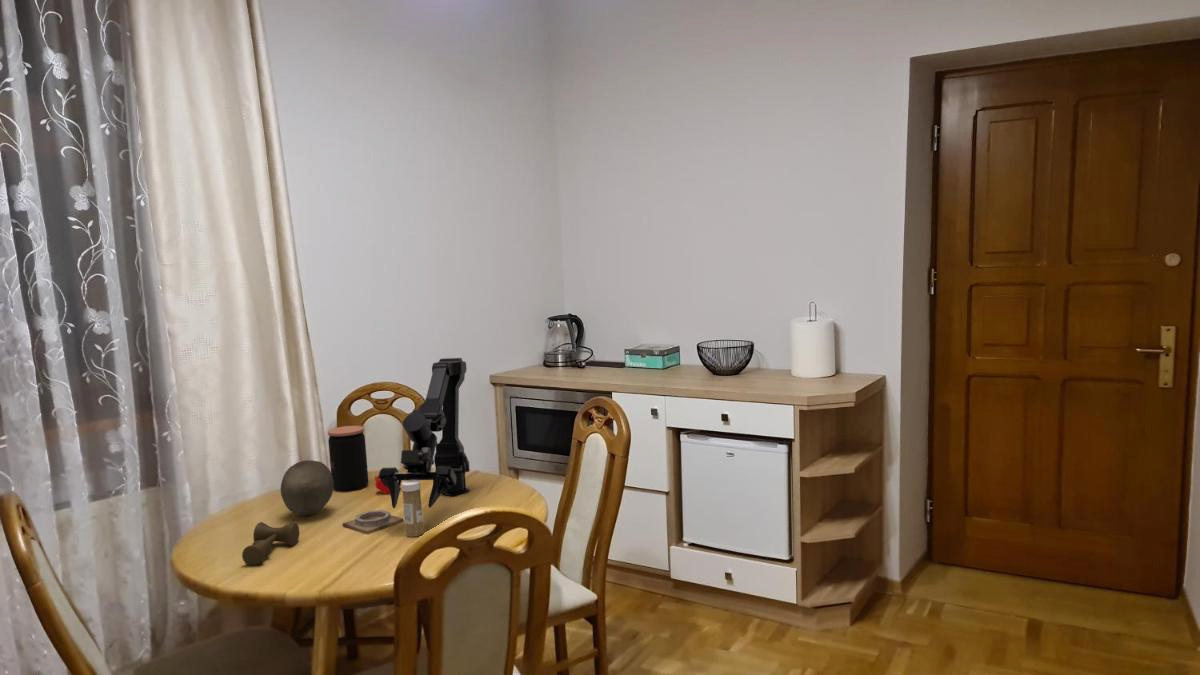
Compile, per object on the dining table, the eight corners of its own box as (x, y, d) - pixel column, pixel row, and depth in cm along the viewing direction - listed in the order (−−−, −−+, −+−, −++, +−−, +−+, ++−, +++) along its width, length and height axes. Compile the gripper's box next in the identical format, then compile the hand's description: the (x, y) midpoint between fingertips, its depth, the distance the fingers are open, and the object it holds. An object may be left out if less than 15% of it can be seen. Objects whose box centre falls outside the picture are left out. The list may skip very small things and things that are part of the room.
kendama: (232, 569, 182) (269, 536, 202) (273, 569, 182) (307, 535, 202) (229, 544, 181) (267, 513, 201) (271, 544, 181) (305, 513, 201)
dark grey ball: (270, 521, 214) (265, 466, 213) (310, 505, 227) (305, 453, 225) (309, 526, 208) (304, 470, 207) (348, 509, 221) (343, 456, 219)
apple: (403, 469, 240) (377, 464, 237) (405, 479, 234) (378, 473, 231) (395, 490, 241) (369, 484, 238) (397, 500, 235) (371, 494, 232)
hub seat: (378, 514, 215) (377, 506, 215) (403, 521, 208) (402, 513, 208) (342, 526, 207) (342, 518, 206) (367, 534, 200) (366, 525, 200)
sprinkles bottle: (426, 534, 197) (422, 481, 196) (409, 538, 195) (405, 485, 194) (420, 529, 201) (416, 477, 200) (402, 533, 199) (398, 481, 197)
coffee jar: (342, 482, 249) (337, 425, 247) (374, 481, 248) (370, 425, 246) (326, 492, 239) (320, 433, 237) (359, 492, 237) (354, 433, 235)
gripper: (378, 436, 201) (364, 492, 191) (450, 435, 199) (439, 491, 189) (392, 459, 210) (379, 513, 200) (460, 457, 208) (451, 512, 198)
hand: (411, 507), depth 196 cm, fingers open, 9 cm apart
